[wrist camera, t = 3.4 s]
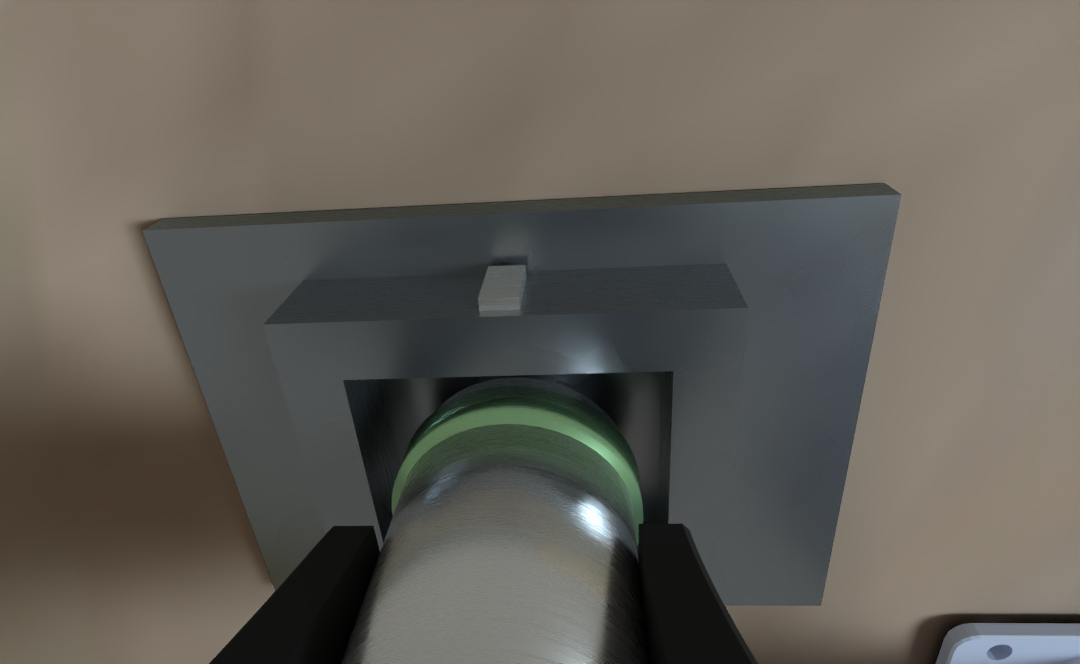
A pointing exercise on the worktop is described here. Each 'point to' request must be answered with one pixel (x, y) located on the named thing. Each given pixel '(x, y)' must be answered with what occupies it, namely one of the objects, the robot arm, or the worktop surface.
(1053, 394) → the worktop surface
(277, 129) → the worktop surface
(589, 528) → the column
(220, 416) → the stand base
